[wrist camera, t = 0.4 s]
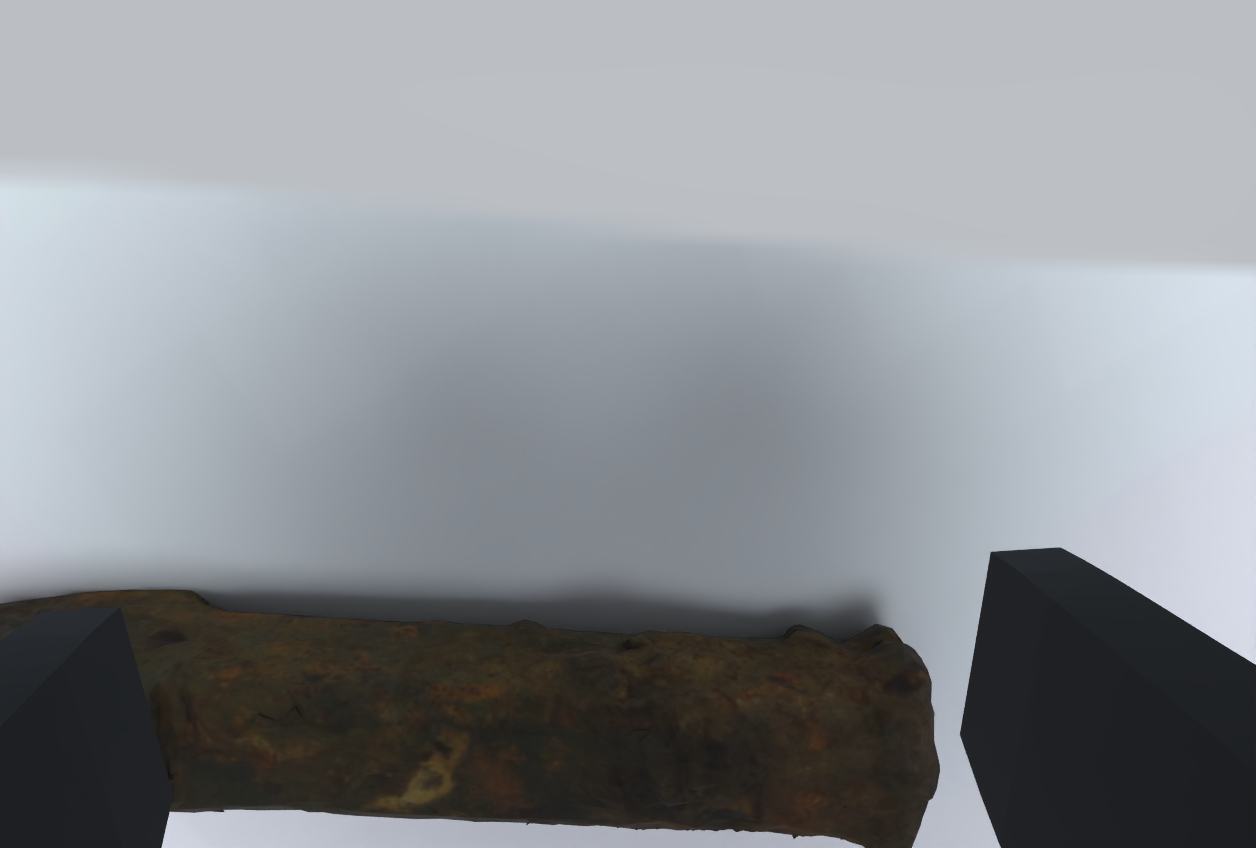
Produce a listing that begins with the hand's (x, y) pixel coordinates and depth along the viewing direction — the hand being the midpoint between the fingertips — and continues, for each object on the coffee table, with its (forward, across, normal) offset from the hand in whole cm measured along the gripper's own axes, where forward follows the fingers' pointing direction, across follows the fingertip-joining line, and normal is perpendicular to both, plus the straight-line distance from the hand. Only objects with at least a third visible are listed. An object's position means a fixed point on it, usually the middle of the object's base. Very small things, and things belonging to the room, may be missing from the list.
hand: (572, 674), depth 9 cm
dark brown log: (+10, +3, +8) cm, 13 cm away
